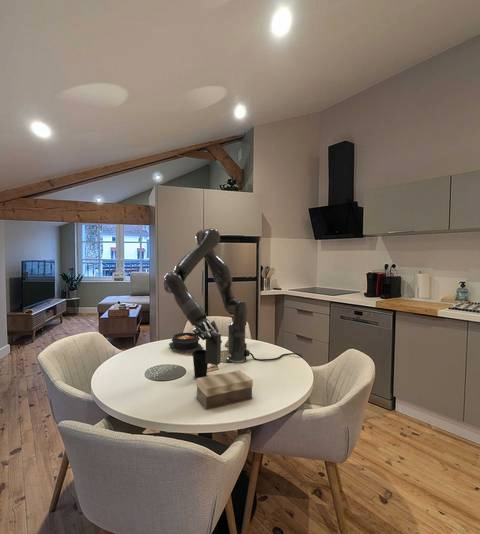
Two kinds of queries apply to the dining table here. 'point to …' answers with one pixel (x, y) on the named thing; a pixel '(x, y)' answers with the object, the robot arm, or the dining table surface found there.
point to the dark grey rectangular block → (214, 350)
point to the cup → (200, 363)
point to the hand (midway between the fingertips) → (217, 344)
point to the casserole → (185, 342)
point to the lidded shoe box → (224, 389)
